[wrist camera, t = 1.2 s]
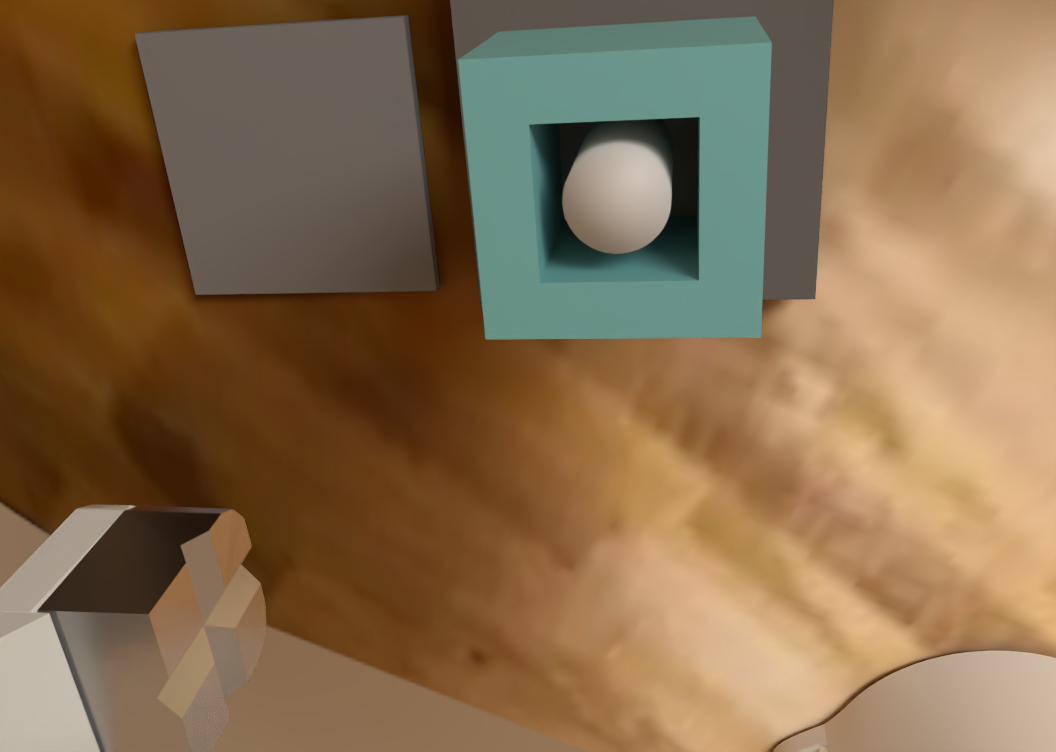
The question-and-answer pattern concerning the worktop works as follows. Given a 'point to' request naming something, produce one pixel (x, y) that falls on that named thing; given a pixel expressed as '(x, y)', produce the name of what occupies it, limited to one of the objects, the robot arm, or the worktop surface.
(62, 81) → the worktop surface
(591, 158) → the stand
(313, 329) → the worktop surface
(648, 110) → the collar
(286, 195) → the mat
